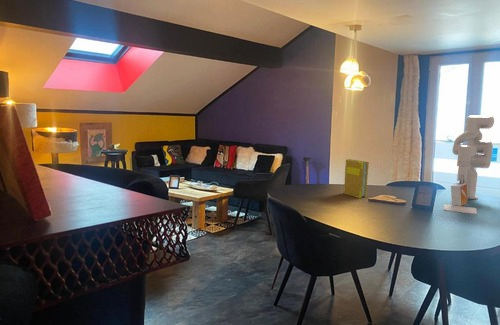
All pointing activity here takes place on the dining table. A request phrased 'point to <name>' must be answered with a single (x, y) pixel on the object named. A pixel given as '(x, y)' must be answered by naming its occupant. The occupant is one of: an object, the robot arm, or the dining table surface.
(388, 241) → the dining table surface
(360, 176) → the book
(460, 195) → the small box
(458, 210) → the mat
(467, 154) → the robot arm
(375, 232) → the dining table surface
